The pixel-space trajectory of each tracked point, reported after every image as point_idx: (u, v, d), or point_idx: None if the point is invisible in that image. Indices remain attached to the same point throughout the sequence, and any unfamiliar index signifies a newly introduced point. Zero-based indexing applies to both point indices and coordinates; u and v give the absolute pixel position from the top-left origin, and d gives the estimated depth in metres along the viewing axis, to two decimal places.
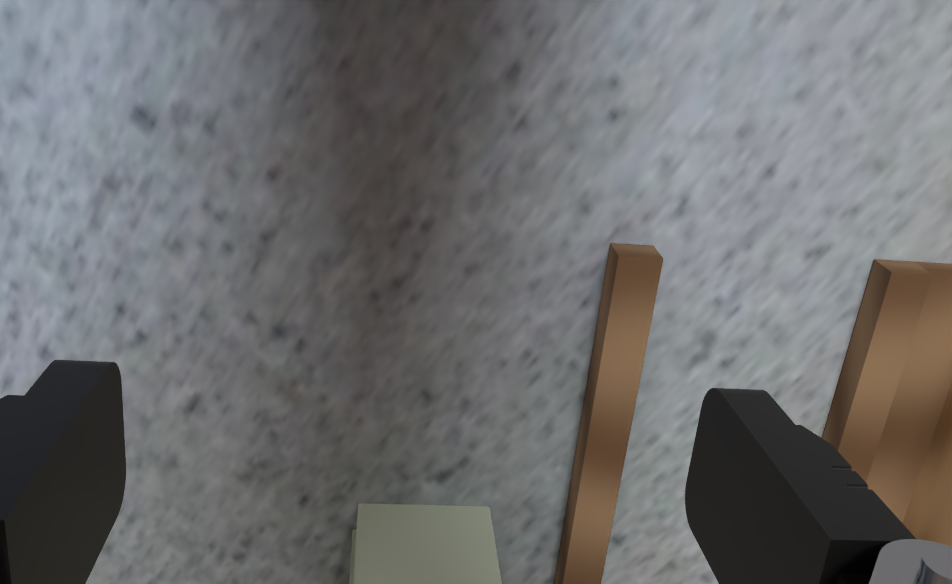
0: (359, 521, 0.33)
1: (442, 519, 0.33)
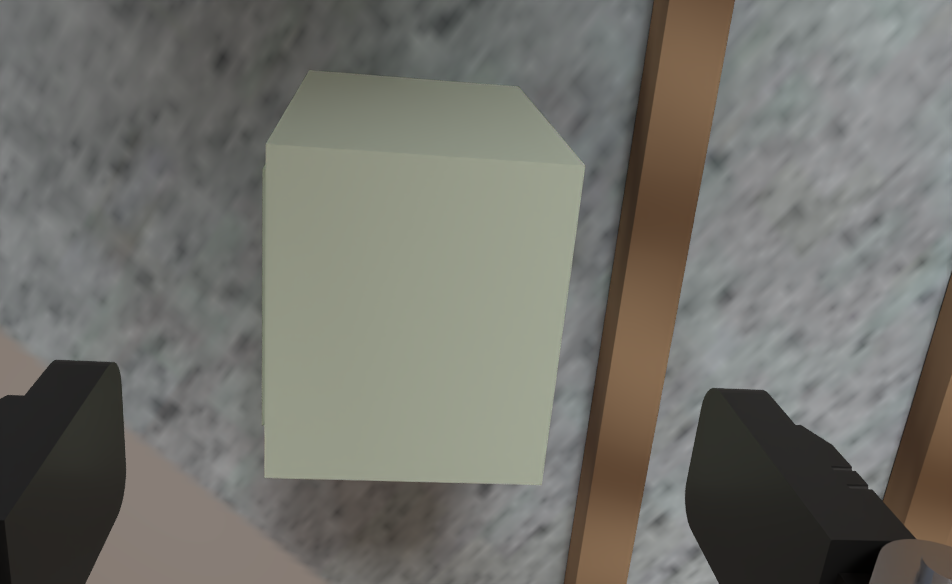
0: (309, 77, 0.20)
1: (444, 86, 0.21)
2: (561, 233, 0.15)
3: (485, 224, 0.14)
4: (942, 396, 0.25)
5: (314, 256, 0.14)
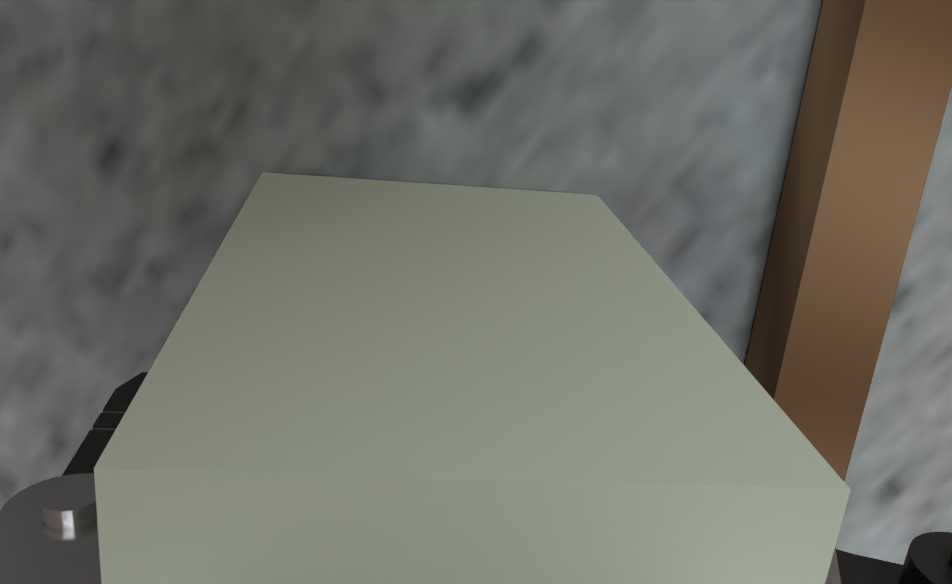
0: (258, 191, 0.12)
1: (482, 201, 0.13)
2: None
3: None
4: None
5: None
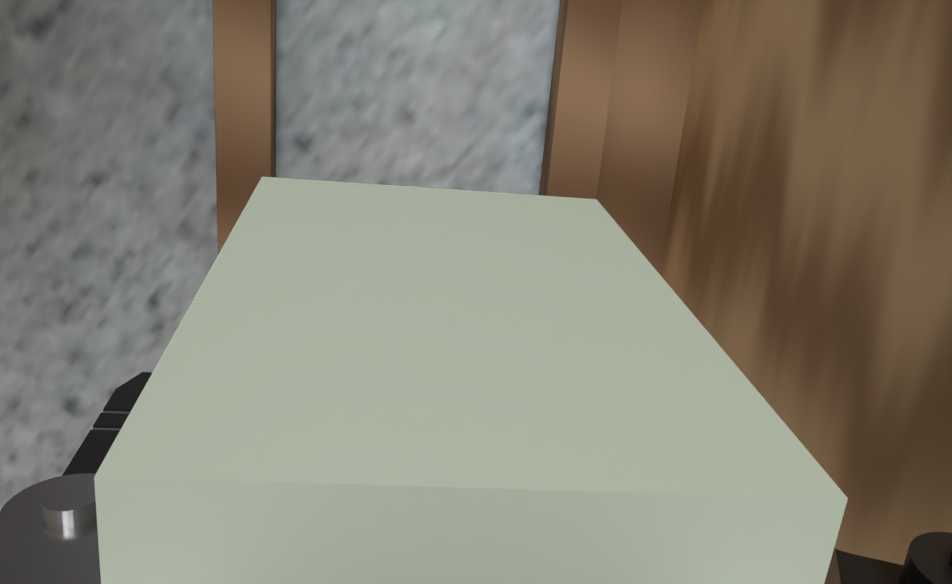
0: (257, 196, 0.12)
1: (481, 206, 0.13)
2: None
3: None
4: None
5: None
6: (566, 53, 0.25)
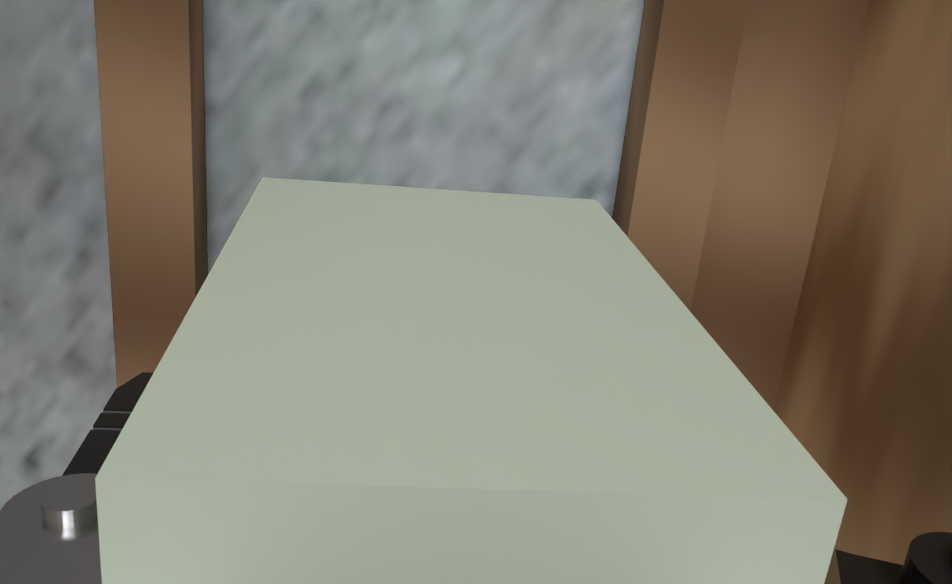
0: (258, 196, 0.12)
1: (481, 207, 0.13)
2: None
3: None
4: None
5: None
6: (653, 110, 0.16)
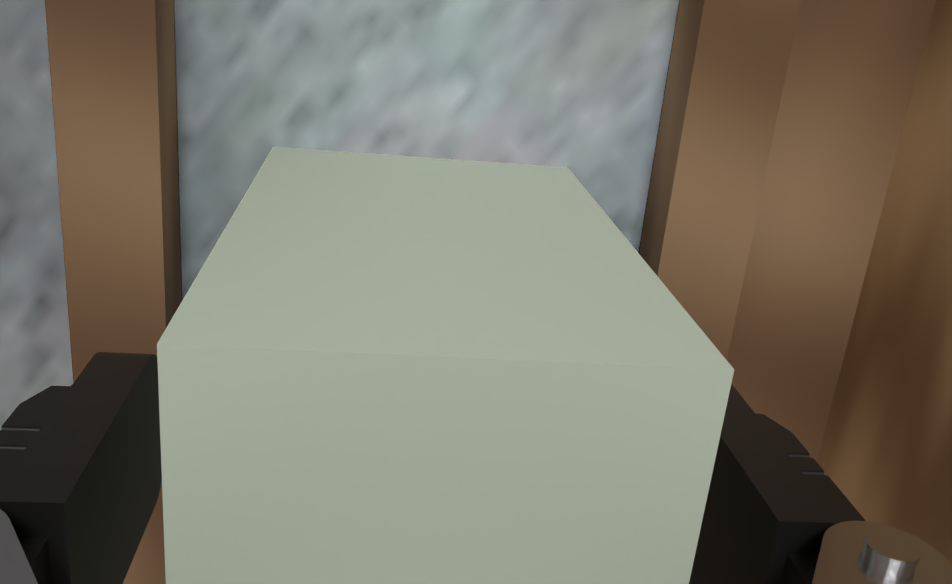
0: (270, 161, 0.14)
1: (465, 171, 0.14)
2: (686, 479, 0.08)
3: (554, 468, 0.08)
4: None
5: (251, 526, 0.08)
6: (688, 141, 0.14)
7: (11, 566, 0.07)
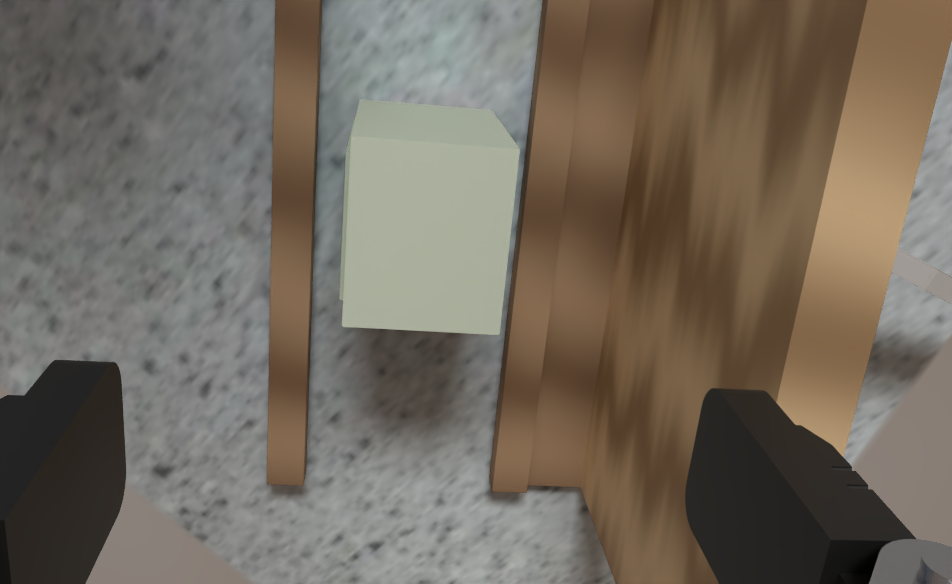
0: (361, 103, 0.33)
1: (444, 109, 0.33)
2: (507, 186, 0.27)
3: (466, 181, 0.27)
4: (511, 325, 0.36)
5: (374, 197, 0.27)
6: (540, 96, 0.33)
7: None
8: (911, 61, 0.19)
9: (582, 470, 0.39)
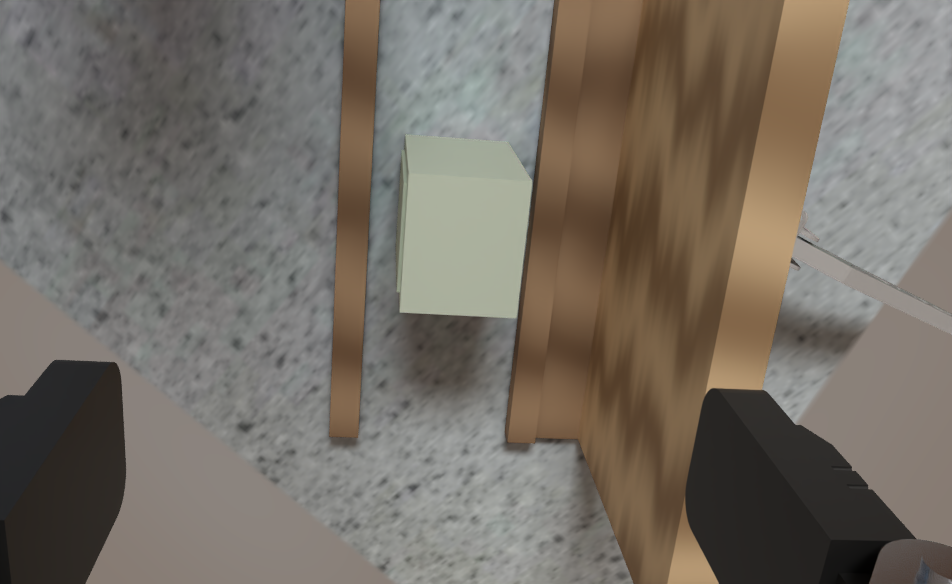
0: (407, 138, 0.42)
1: (471, 142, 0.43)
2: (523, 208, 0.36)
3: (492, 204, 0.36)
4: (523, 310, 0.46)
5: (425, 217, 0.36)
6: (546, 132, 0.42)
7: None
8: (796, 137, 0.28)
9: (579, 426, 0.49)
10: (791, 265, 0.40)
